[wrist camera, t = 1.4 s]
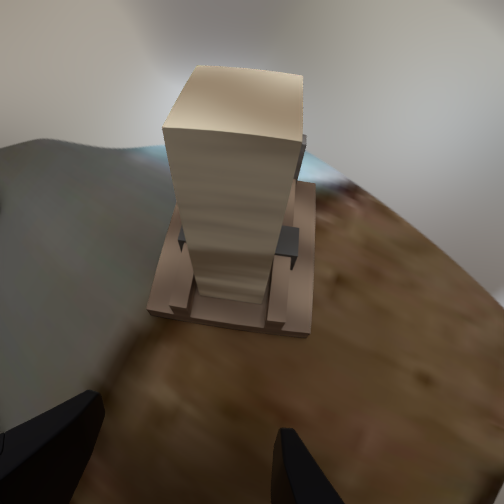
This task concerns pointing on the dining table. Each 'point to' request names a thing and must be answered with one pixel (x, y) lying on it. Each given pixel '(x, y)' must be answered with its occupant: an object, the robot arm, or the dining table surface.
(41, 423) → the robot arm
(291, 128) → the birch peg
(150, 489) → the dining table surface
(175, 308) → the peg housing
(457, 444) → the dining table surface
